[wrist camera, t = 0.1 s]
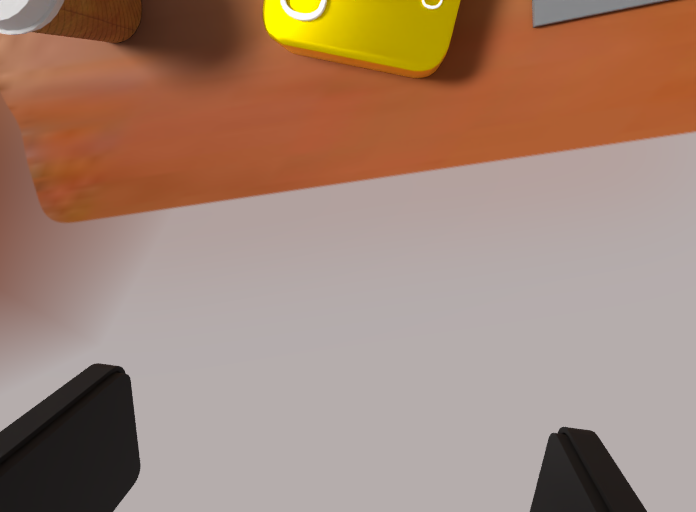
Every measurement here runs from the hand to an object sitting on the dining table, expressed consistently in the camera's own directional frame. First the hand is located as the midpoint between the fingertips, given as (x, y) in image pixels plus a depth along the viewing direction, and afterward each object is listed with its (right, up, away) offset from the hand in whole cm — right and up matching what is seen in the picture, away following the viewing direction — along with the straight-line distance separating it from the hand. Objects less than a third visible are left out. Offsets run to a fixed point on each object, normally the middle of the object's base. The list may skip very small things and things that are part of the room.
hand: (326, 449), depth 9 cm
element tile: (+3, +28, +25) cm, 38 cm away
